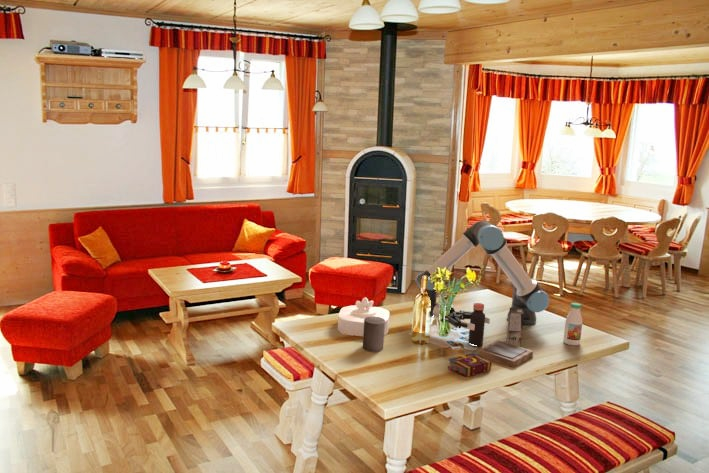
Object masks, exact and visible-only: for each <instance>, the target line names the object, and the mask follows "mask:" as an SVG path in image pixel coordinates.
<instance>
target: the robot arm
mask: <svg viewBox="0 0 709 473" xmlns="http://www.w3.org/2000/svg"><path fill="white" fill-rule="evenodd" d="M507 244H508V243H507V239H506V237H504V233H503V232H502V230H501V229H500V228H499V227H498V226H496V225H494V224H492V223H490V222H489V221H486V220H480V221H477V222H475V223H473V224H472V225H471V226H469V227H468V228H467V229H466V230H464V232H463V233H462V234H461V237H460V238H459V239H458V240H457V241H456V242H455V243H454V244H453V245H452V246H451V247H450V248H449V249H448V250H446V252H445V253H443V254H442V255H441V256H440V257H439V258H438V259H436V261H434V263H432V265H431V266H429V267H428V268H427V269H426V270H425V271H424V272H420V273H418V274H417V275H416V277H415V283H416V285H417V287H418V288H419V289H420V290H421V279H422V276H423V275H427V276H428V282H427V293H428V296H429V297H430V300H431V312H430V316H429V317H430V318H433V319H434V318H435V319H436V320H438V319H439V313H440V310H439V305H440V304H441V303H438V302H437V298H438V291H437V292H435V291H436V290H434V289H433V288H434V284H433V283H431V282H430V275H431V273H433V272H434V271H435V269H436V266H435V263H436V264H437V265H438V266H439V267H440V268H444V267H445V266H446V267H447V268H448V270H450V269H451V268H452V267H453V266H454V265H455V264H457V262H459V260H460V259H462V258H463V257H464V256H465V255H466V254H468V253H469V251H470V250H472V249H476V248H477V247H478V246H480V247H481V248H482V249H483V251H484V252H485V253H486V254H487V255H488V256H492V258H493V259H494V260H495V262H496V263H497V264H498V266H499V267H500V269H501V270H502V271H503V272H504V274H505V275H506V277H507V278H508V279H509V280H510V282H511V284H512V285H513V288H512V298H511V299H512V300H511V306H510V308H521V309H523V312H524V318H523V325H524V326H525V325H527V326H529V325H534V324H536V323H537V314H536V313H542V312H544V311H545V310H546V309H547V308H548V307H549V305H550V296H549V294H548V293H547V292H546V291H544V289H542V287H541V286H540V285H539V283H538V281H537V280H536V279H534V278H531V277H530V276H529V274H528V273H527V271H526V270H525V269H524V267H523V266H522V265H521V264H520V263H519V261H518V260H517V258H516V257H515V256H514V254H513V253H512V251H511V250H510V249H509V247H508V246H507ZM450 307H451V310H450V314H449V315H448V316H445V321H444V322H446V323H449V324H450V325H452V326H453V327H455V328H458V329H461V328H464V329H467V330H469V329H470V330H474V328H475V324H471V323H470V322H468V321H465V320H470V317H471V313H472V312H473V311H465V310H461V309H460V310H459V311H456V310H455V309H454V307H452V306H450ZM433 315H434V317H432V316H433ZM506 319H507V320H509V311H508V312H507V317H506ZM490 321H491V318H490V317H487V316H485V324H488V325H490V323H491V322H490Z"/></svg>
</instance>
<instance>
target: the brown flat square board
mask: <svg viewBox="0 0 709 473" xmlns="http://www.w3.org/2000/svg"><path fill="white" fill-rule="evenodd" d="M477 354H478V355H480V356H481V357H483V358H485V359H487V360H489V361H493V362H496V363H498V364H499V363H500V364H501V365H502V364H503V365H505V366H509V367H511V368H515V367H517V366H518V365H519V366H520V365H521V364H522V363H524V362H525V361H528V360H529V359H531V358H533V356H534V350H531V349H529V348H524V347H523V346H522V347H521V346H516V345H513V344H509V343H507V341H502V340H499V339H498V340H495V341H494V342H491V343H489V344H486V345H485V346H484V347H483V346H482V347H480V348H479V349H478V351H477Z"/></svg>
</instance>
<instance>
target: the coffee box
mask: <svg viewBox="0 0 709 473" xmlns="http://www.w3.org/2000/svg"><path fill="white" fill-rule="evenodd" d="M508 312H509V320H508V319H507V320H508V321H507V323H508V324H507V332H506V343H509V344H513V345H516V346H519V347H521V345H522V344H521V343H522V335H523V318H524V312H523V309H521V308H511V307H509V310H508Z"/></svg>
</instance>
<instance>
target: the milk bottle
mask: <svg viewBox="0 0 709 473" xmlns="http://www.w3.org/2000/svg"><path fill="white" fill-rule="evenodd" d="M581 308H582V304H581V303H578V302H571V303H570V311H569V313H568V314H567V316H566V319H565V325H564V332H563V343H564V344H565V345H569V346H579V345H580V344H581V338H582V331H583V330H582V329H583V317H582V313H581Z"/></svg>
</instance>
